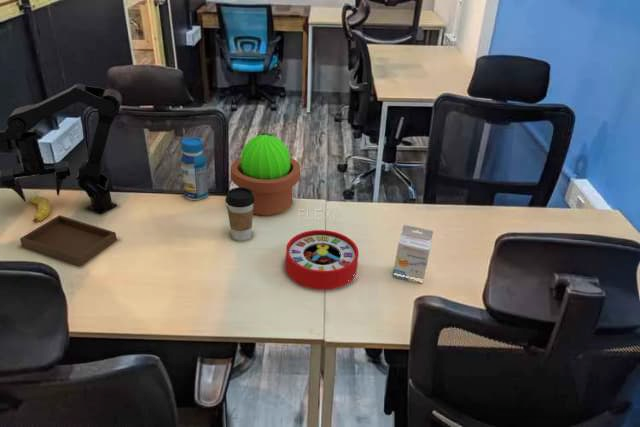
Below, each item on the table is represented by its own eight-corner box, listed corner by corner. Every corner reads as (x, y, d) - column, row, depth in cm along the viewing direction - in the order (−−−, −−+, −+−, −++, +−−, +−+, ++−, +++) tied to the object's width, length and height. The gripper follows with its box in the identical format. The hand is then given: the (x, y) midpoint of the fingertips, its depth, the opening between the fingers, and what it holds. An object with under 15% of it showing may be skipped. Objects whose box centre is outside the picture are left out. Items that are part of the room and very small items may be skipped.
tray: (117, 240, 149) (115, 232, 147) (80, 266, 137) (78, 258, 136) (61, 222, 155) (59, 214, 153) (22, 246, 144) (19, 238, 142)
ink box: (392, 277, 140) (399, 233, 133) (395, 267, 145) (402, 223, 137) (422, 284, 138) (431, 240, 131) (425, 274, 143) (434, 230, 135)
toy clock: (312, 222, 152) (371, 245, 143) (311, 238, 155) (369, 262, 146) (271, 254, 137) (334, 282, 128) (271, 271, 140) (332, 300, 131)
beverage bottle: (210, 200, 171) (206, 145, 161) (184, 202, 169) (178, 146, 159) (208, 188, 178) (204, 134, 168) (183, 189, 176) (178, 136, 166)
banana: (52, 221, 155) (50, 212, 154) (32, 225, 153) (29, 215, 151) (49, 198, 167) (46, 189, 165) (30, 201, 164) (27, 192, 162)
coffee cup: (222, 238, 152) (219, 195, 144) (236, 225, 159) (234, 182, 151) (246, 246, 150) (245, 202, 142) (260, 231, 156) (259, 189, 149)
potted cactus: (275, 227, 159) (276, 154, 146) (219, 207, 167) (215, 136, 154) (309, 198, 176) (313, 130, 163) (257, 181, 184) (256, 116, 171)
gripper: (61, 137, 159) (71, 181, 168) (-7, 146, 151) (7, 191, 160) (65, 150, 151) (75, 196, 159) (-8, 161, 143) (7, 208, 151)
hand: (41, 197), depth 158 cm, fingers open, 9 cm apart
